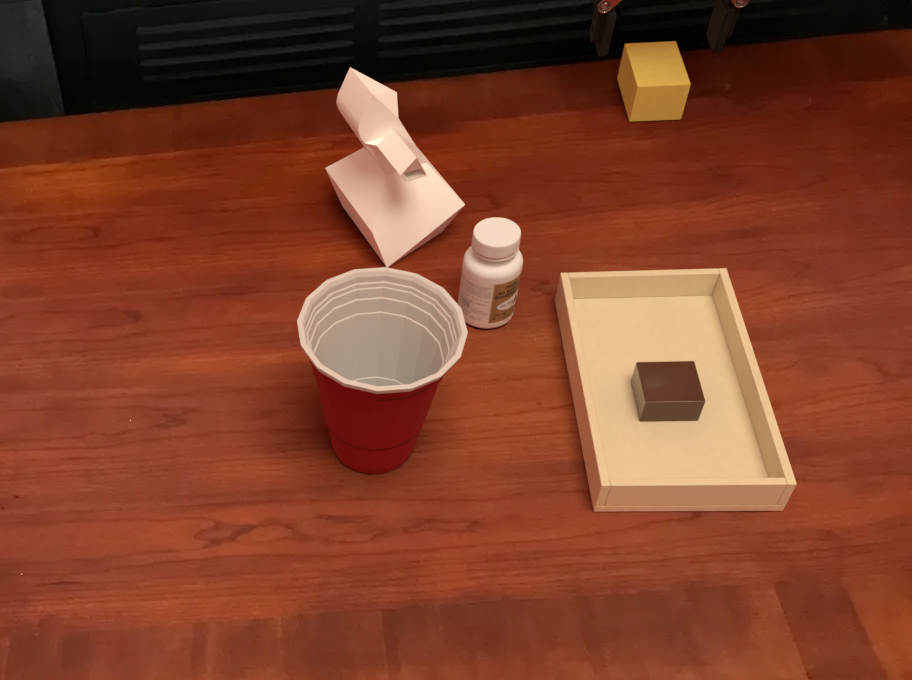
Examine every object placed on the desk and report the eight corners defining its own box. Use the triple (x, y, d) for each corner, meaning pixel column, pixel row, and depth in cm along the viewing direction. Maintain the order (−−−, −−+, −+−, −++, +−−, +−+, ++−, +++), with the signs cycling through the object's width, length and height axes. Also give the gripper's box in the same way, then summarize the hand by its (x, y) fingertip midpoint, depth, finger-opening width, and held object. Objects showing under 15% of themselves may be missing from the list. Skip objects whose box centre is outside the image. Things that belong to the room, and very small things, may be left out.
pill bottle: (503, 337, 88) (516, 256, 82) (448, 321, 89) (458, 241, 83) (521, 301, 90) (536, 220, 84) (468, 287, 92) (479, 206, 85)
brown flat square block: (687, 380, 83) (694, 360, 81) (698, 421, 80) (706, 401, 79) (630, 381, 83) (636, 361, 81) (639, 422, 81) (645, 402, 79)
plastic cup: (369, 530, 78) (376, 409, 68) (269, 441, 84) (262, 318, 74) (484, 451, 81) (505, 325, 72) (380, 370, 87) (387, 243, 77)
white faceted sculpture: (398, 160, 102) (408, 12, 91) (473, 251, 94) (492, 100, 83) (311, 186, 101) (310, 39, 90) (378, 281, 93) (386, 131, 82)
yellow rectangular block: (666, 76, 106) (676, 40, 104) (681, 119, 102) (691, 84, 99) (616, 78, 107) (624, 43, 104) (629, 122, 103) (637, 86, 100)
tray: (716, 296, 88) (726, 267, 86) (783, 511, 76) (797, 484, 73) (554, 300, 90) (560, 272, 88) (593, 512, 77) (601, 485, 75)
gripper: (818, -193, 88) (749, 19, 102) (588, -180, 90) (550, 27, 104) (845, -149, 84) (768, 66, 98) (602, -136, 86) (561, 73, 99)
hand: (656, 46), depth 101 cm, fingers open, 9 cm apart
